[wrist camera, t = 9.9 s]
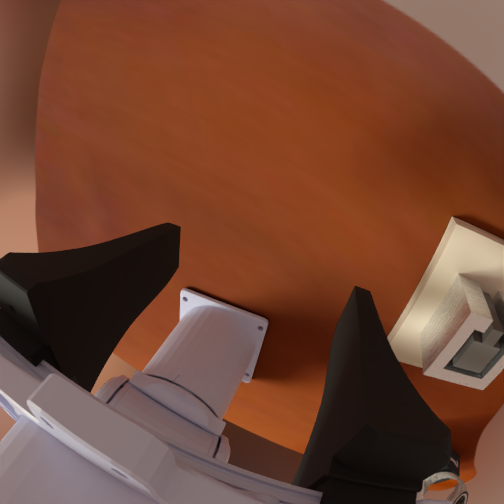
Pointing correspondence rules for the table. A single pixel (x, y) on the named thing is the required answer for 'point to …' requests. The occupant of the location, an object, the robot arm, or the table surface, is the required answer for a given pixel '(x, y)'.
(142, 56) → the table surface
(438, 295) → the keyed post base
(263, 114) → the table surface
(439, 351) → the grey slotted channel block
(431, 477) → the watch
